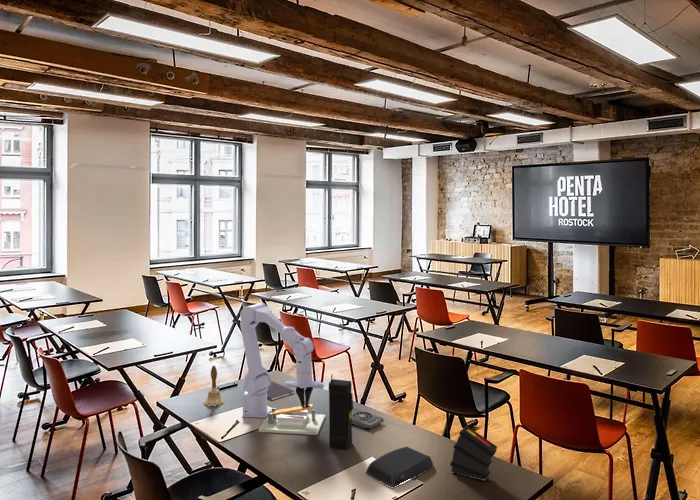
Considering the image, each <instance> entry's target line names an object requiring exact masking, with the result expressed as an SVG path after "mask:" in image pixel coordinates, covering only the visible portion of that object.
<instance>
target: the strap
mask: <svg viewBox="0 0 700 500" xmlns="http://www.w3.org/2000/svg"><path fill="white" fill-rule="evenodd" d="M313 408H314V403H310V404H308V407H305V406H304V407H302V406H301V405H299V406H293V407H289V408H282V409H276V411H274V410H272V409H271V411H270V412H271V413H273V416H275V415H280V414H286V413H292V412H298V411H303V410H308V411H309V410H312V409H313Z"/></svg>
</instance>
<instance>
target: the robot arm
mask: <svg viewBox="0 0 700 500" xmlns="http://www.w3.org/2000/svg"><path fill="white" fill-rule="evenodd" d="M239 315H240V323H239V326H240V331H241V337H242V342H243V346H244V348H243V349H244V352H245V353H244V354H245V358H246V359H245V360H246V363H247V372H246V373H245V375H244V386H245V388H244V390H245V391H244V392H243V394H242V401H241V402H242V418H264V419H266V418H267V416H268V413H270V412H272V408H268V399H267V390H268V387H269V386H270V384H271V381H272V380H271V377H270V375H269V373H268V369H267V368H265V367H264V366H263V362H262V358H261V353H260V352H261V351H260V347H259V346H260V345H259V342H258V341H259V340H258V337H257V331H256V327H257V326H258V325H259V323H265V324H267V325H268V326H269V327H271V328H272V329H274V330H275V331H276V332H277V333H279V334H280V335H279V337H280V338H281V340H282V341H284V342H285V343H286V344H287V345H288V346H289V347H290V348H291V349H292V352H293V354H294V358H295V360H296V361H295V362H296V365H295V366H296V367H295V368H296V370H295V371H296V380H290V381H285V383H284V387H285V388H295V394H296V395H297V397H298V400H299V402H300V406H302V407H304V406H305V407H308V405H310V404H309V402H310V398H311V394H312V392H313V391H314V389H320V390H324V388H325V382H323V381H322V382H321V381H315V380H313V371H312V370H313V369H312V368H313V367H312V364H313V363H312V362H313V361H312V352H313V351H314V349H315V343H314V341H313V340H312V339H311V338H309V337H305V336H303V335H301V334H300V333H299V332H298V331H297V330H296V328H295V327H294V326H286V325H285V323H283V322H282V321H281V320H280V319H279V318H278V316H276V315H275V314H274V313H273V312H272V310H271V307H269V306H267V304H266V303H264V302H258V303H256V304H252V305H246V306H244V307H243V308H242V310H241V311H240V313H239Z"/></svg>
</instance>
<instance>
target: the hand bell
mask: <svg viewBox="0 0 700 500" xmlns="http://www.w3.org/2000/svg"><path fill="white" fill-rule="evenodd" d="M210 378H211V389H208V392H207V393H208V395H207V397H206V400H205V401H204V402H203V405H204V404H205V405H204V406H206V405H210V406H213V407H216V406H215V405H220V404H222V403H223V404H225V400H224V399H223V398H222V396H221V393H220V389H219V388H217V378H218V370H217V368H216V365H212V367H211V369H210ZM223 404H222V405H223ZM210 406H209V407H210ZM220 406H221V405H220Z"/></svg>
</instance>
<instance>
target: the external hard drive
mask: <svg viewBox="0 0 700 500" xmlns="http://www.w3.org/2000/svg"><path fill="white" fill-rule="evenodd" d="M432 466H433V467H434V463H433V460H432V458H431V456H430V455H427V454H425V453H422V452H421V451H417V450H415V449H413V448H411V447H409V446H407V445H406V446H402V447H400V448H396V449H394V450H391V451H389V452H387V453H385V454H382V455H381V456H379V457H377V458H376V459H375V460H373V461H371V462H370V463H369V465H368V466H367V468H366V471H365V475H366V474H367V476H369V477H370V476H371V477H370V478H372V479H374V480H376V481H378V482H379V481H381V482H383V483H384V484H383V483H382V484H383V485H385V484H386V485H385V486H387V485H388V486H387V487H389V486H390V487H389V488H391V487H395V486H397V485H399V484H400V483H402V482H404V481H406V480H408V479H410V478H413V477H415V476H418V475H419V474H421V473H423V472H424V471H426V470H428V469H429V468H431V467H432ZM433 467H432V468H433ZM432 468H431V469H432ZM429 470H430V469H429ZM429 470H428V471H429ZM426 472H427V471H426ZM423 474H424V473H423ZM418 477H419V476H418ZM381 482H380V483H381ZM395 488H396V487H395Z"/></svg>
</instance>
